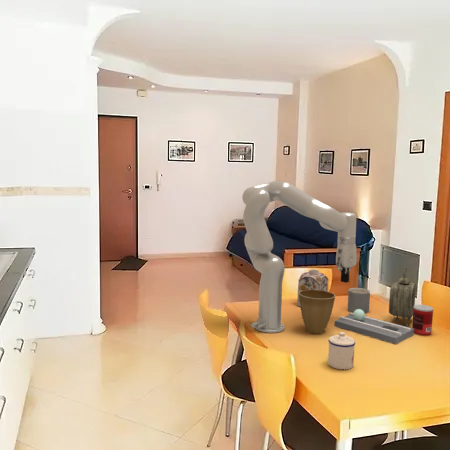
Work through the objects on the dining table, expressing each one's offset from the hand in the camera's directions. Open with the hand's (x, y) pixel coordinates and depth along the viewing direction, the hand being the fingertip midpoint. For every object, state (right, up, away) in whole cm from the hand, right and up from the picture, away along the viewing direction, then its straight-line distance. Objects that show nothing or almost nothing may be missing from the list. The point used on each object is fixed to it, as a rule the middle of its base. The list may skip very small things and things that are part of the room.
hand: (344, 281), depth 210 cm
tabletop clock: (+26, -19, +3) cm, 32 cm away
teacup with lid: (-13, -24, -42) cm, 50 cm away
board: (+10, -20, -8) cm, 23 cm away
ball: (+5, -14, -4) cm, 15 cm away
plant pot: (-15, -20, -10) cm, 27 cm away
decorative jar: (-10, -15, +26) cm, 31 cm away
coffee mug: (+11, -16, +20) cm, 28 cm away
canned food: (+30, -20, -10) cm, 37 cm away
